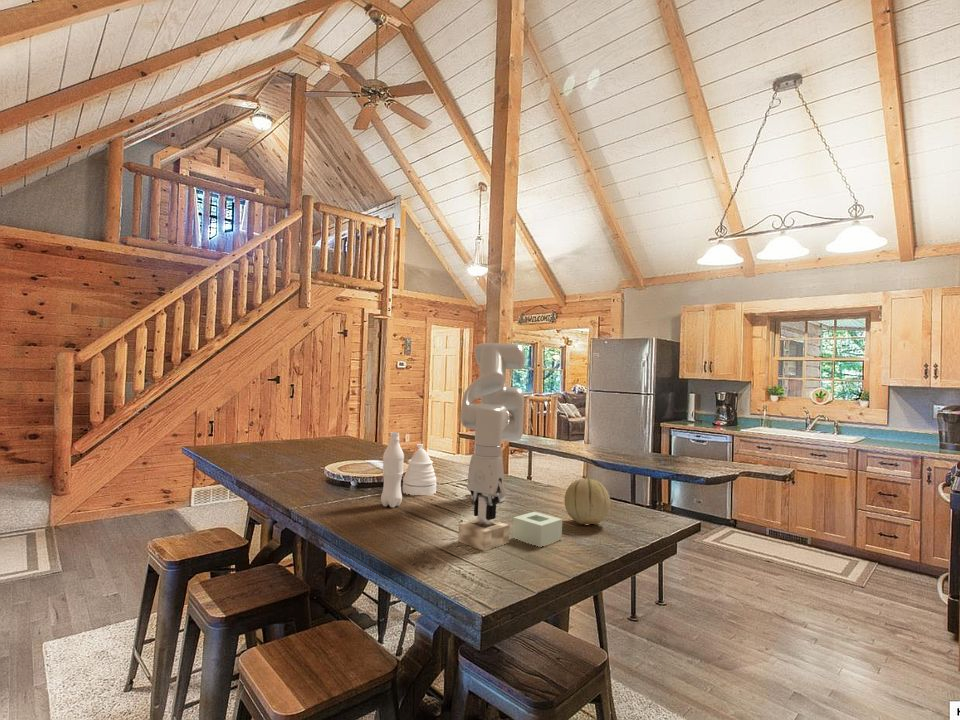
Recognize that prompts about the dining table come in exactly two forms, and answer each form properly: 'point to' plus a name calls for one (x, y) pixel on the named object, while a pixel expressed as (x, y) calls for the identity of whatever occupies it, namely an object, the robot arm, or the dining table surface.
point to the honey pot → (419, 474)
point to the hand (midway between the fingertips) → (484, 516)
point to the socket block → (483, 534)
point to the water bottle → (392, 472)
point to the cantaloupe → (587, 501)
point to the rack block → (537, 528)
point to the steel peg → (483, 511)
